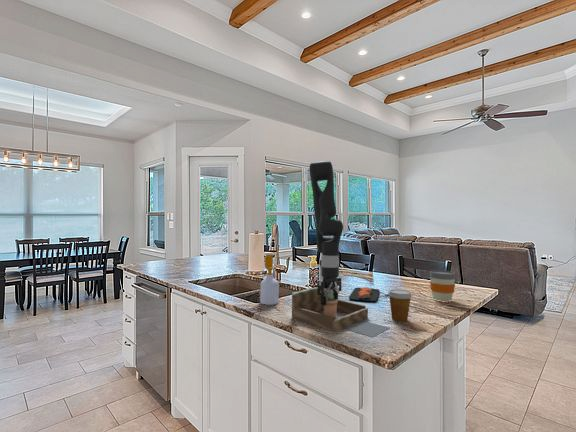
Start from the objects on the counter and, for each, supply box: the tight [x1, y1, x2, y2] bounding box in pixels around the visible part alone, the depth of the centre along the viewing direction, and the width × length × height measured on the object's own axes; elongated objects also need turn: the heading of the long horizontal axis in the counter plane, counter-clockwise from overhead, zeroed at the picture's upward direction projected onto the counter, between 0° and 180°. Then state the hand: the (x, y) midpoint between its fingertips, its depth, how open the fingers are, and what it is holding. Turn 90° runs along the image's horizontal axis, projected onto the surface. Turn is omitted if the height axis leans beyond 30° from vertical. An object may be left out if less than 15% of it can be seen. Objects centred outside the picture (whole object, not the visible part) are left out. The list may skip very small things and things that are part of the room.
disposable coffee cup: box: [387, 288, 412, 323], centre depth 137 cm, size 10×10×12 cm
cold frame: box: [291, 286, 369, 333], centre depth 137 cm, size 24×23×11 cm
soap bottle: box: [259, 253, 280, 306], centre depth 160 cm, size 9×9×25 cm
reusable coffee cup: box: [429, 269, 456, 301], centre depth 170 cm, size 12×13×15 cm
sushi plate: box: [348, 286, 389, 302], centre depth 175 cm, size 29×30×4 cm
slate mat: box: [344, 320, 391, 338], centre depth 125 cm, size 14×12×1 cm
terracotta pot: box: [323, 293, 339, 319], centre depth 137 cm, size 6×6×11 cm
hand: (329, 303), depth 137 cm, fingers open, 8 cm apart
